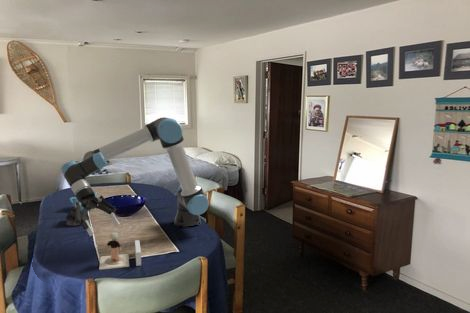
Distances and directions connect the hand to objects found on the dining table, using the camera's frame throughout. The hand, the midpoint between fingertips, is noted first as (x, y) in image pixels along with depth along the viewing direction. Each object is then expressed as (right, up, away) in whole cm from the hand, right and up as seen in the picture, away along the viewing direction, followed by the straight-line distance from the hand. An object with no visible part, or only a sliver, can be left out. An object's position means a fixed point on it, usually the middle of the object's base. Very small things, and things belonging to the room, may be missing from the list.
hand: (105, 230), depth 156 cm
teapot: (-39, -2, +70) cm, 80 cm away
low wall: (+13, -14, +3) cm, 19 cm away
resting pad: (+4, -14, -1) cm, 15 cm away
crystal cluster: (-33, -6, +46) cm, 57 cm away
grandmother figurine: (+4, -13, -1) cm, 14 cm away
